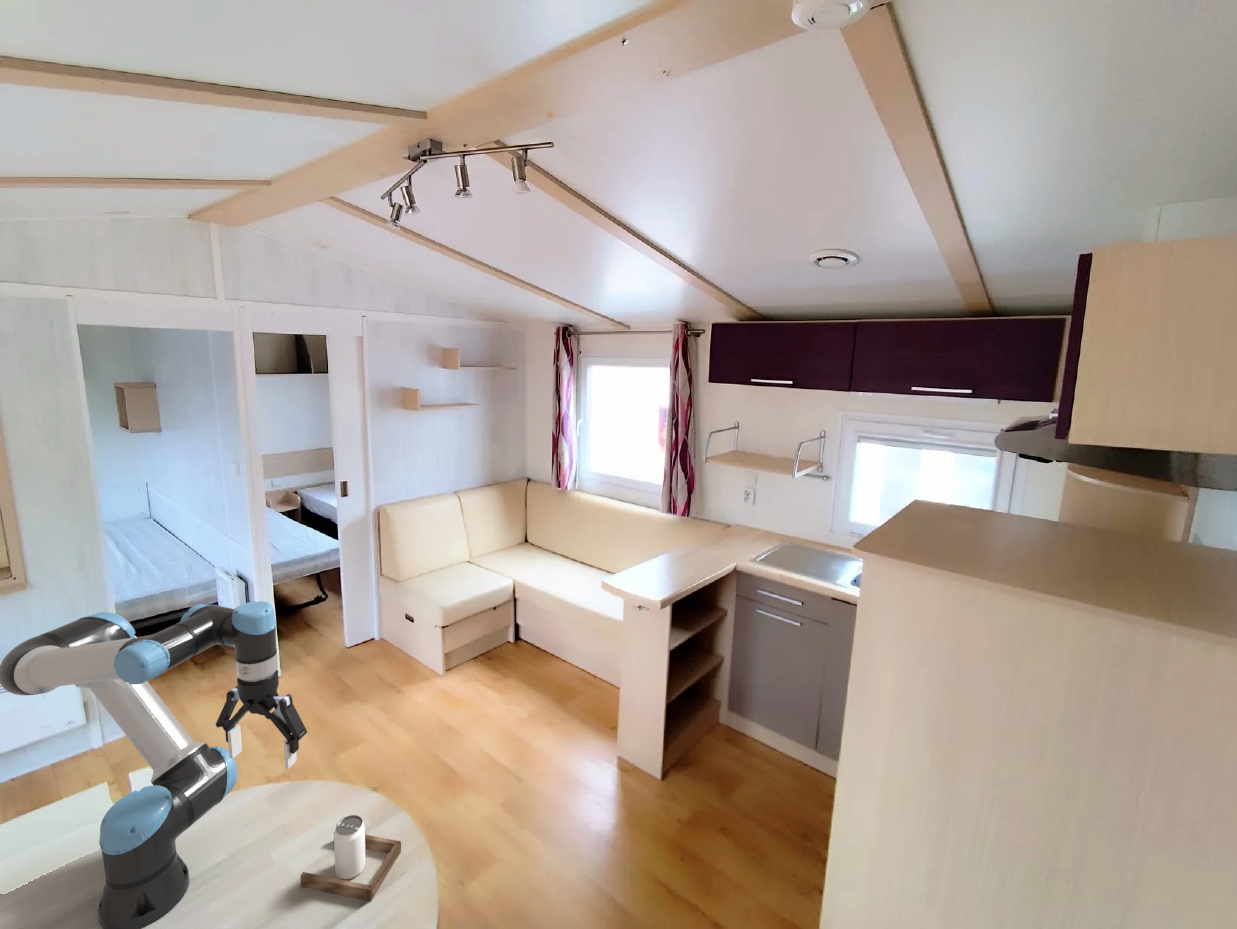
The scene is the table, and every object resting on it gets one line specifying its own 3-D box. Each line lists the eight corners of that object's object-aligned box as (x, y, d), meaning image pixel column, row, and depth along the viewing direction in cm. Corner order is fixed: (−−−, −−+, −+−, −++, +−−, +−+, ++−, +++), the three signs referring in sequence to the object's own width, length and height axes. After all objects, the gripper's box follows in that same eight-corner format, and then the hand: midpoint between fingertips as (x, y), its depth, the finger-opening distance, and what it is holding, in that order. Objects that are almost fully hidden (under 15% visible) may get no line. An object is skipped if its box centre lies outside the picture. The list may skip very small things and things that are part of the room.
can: (353, 883, 130) (352, 839, 128) (328, 876, 131) (327, 832, 129) (371, 859, 136) (370, 816, 134) (347, 853, 138) (346, 810, 135)
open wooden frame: (300, 886, 129) (300, 875, 128) (336, 839, 141) (336, 828, 141) (370, 901, 126) (370, 890, 126) (401, 851, 139) (400, 841, 138)
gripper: (191, 674, 121) (199, 761, 125) (298, 691, 118) (303, 780, 122) (220, 656, 128) (226, 739, 132) (322, 671, 125) (325, 756, 129)
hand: (263, 759), depth 127 cm, fingers open, 13 cm apart
